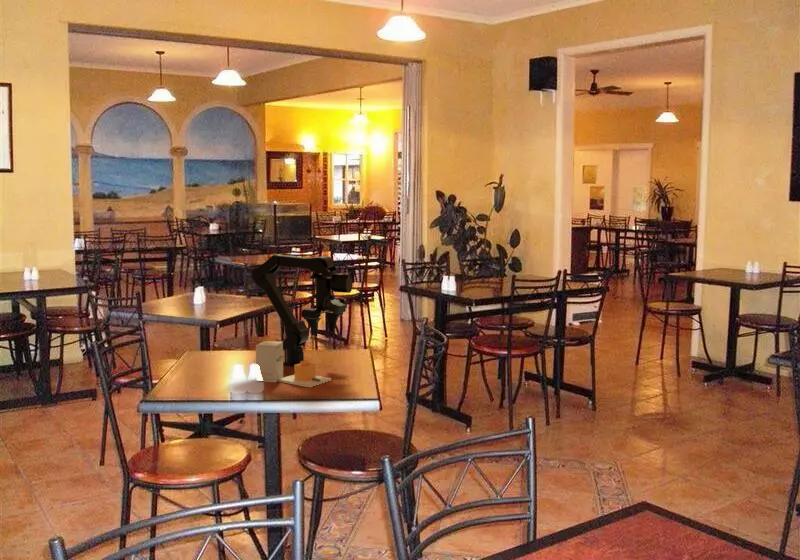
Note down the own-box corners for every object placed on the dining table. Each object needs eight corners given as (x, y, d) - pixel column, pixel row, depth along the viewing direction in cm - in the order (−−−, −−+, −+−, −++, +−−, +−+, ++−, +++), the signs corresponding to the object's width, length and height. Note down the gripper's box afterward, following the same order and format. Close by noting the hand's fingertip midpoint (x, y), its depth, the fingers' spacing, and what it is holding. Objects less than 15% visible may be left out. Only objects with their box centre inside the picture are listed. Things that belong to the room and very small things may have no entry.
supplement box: (276, 382, 277) (275, 345, 275) (255, 381, 278) (254, 344, 277) (284, 377, 284) (283, 341, 282) (263, 376, 285) (263, 340, 284)
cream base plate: (278, 381, 278) (278, 368, 278) (300, 374, 287) (299, 362, 287) (310, 387, 270) (310, 373, 270) (331, 380, 279) (331, 367, 279)
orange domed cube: (294, 379, 278) (294, 361, 277) (304, 376, 282) (304, 359, 281) (305, 381, 275) (305, 363, 274) (315, 378, 279) (315, 361, 279)
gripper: (324, 296, 284) (324, 341, 286) (357, 290, 299) (357, 332, 301) (299, 293, 290) (300, 337, 292) (333, 287, 305) (333, 329, 308)
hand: (324, 334), depth 298 cm, fingers open, 9 cm apart
